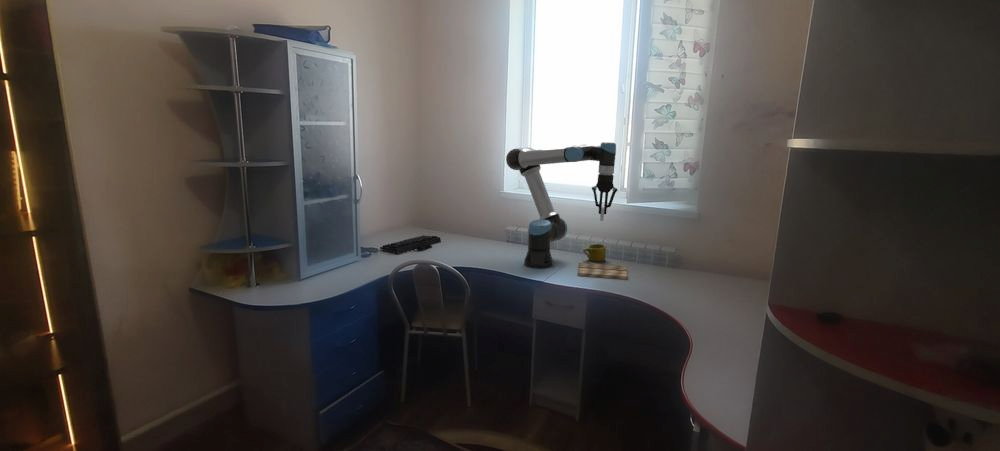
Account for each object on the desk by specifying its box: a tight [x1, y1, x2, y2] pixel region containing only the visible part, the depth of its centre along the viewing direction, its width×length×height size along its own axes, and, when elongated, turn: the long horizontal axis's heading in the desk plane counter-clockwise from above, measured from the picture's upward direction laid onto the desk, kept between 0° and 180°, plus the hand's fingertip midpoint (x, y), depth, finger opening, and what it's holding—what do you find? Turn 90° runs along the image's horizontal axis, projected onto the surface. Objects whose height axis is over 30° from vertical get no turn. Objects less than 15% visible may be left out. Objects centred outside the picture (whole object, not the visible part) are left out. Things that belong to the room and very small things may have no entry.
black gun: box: [379, 235, 442, 254], centre depth 284 cm, size 37×22×5 cm, turn 146°
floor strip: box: [577, 267, 628, 280], centre depth 239 cm, size 24×9×2 cm, turn 79°
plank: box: [577, 262, 627, 272], centre depth 247 cm, size 24×7×2 cm, turn 79°
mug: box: [582, 243, 606, 263], centre depth 264 cm, size 12×10×10 cm
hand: (601, 220), depth 242 cm, fingers closed
